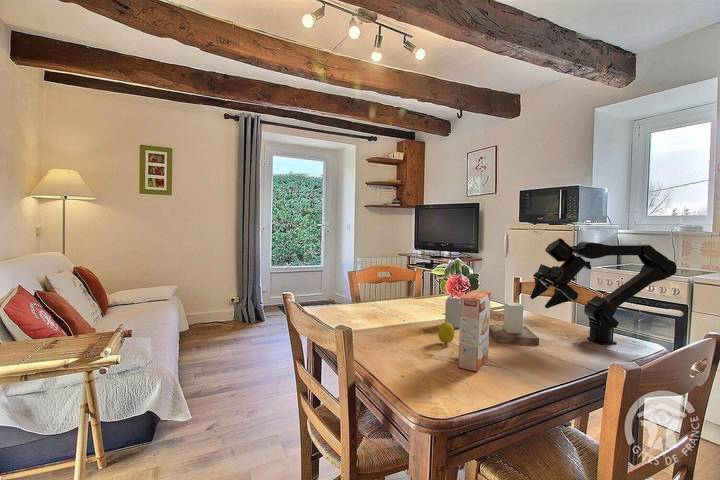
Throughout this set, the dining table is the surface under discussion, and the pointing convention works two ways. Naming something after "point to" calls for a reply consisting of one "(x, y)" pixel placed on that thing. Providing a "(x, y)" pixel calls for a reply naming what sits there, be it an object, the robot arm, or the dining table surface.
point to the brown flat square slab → (513, 336)
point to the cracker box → (474, 330)
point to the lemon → (446, 332)
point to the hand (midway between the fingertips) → (538, 302)
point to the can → (453, 311)
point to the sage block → (513, 317)
